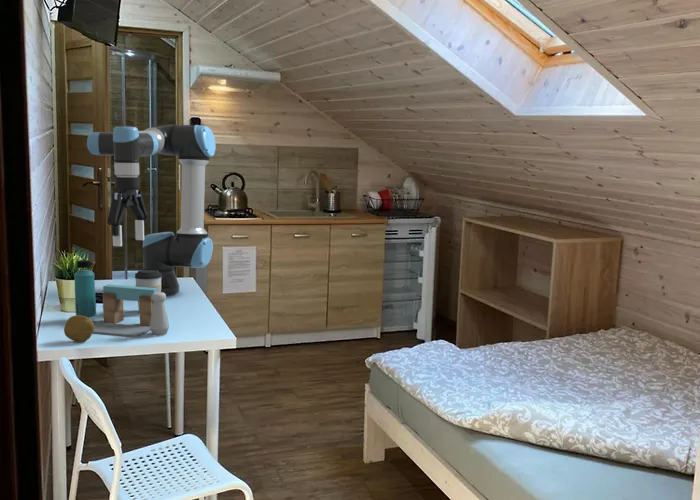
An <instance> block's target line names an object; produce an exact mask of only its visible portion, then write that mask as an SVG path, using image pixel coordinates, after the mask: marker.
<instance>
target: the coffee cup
mask: <svg viewBox="0 0 700 500" xmlns="http://www.w3.org/2000/svg"><path fill="white" fill-rule="evenodd" d="M161 277H162V274H161V273H160V272H159V271H158V270H157V269H155V268H148V269H144V268H142V269H139V270H137V272H136V273H135V274H134V278H135V286H136V287H149V288H158V289H159V292H161ZM137 308H138V309H137V310H138V313H139V314H140V305H139V301H137Z"/></svg>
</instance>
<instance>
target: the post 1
mask: <svg viewBox="0 0 700 500" xmlns="http://www.w3.org/2000/svg"><path fill="white" fill-rule="evenodd" d="M102 311H103V312H102V315H103V323H113V324H120V322H123V321H124V320H125V319H124V318H125V317H124V314H125V313H124V300H119V299H115V293H102Z"/></svg>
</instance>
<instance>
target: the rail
mask: <svg viewBox="0 0 700 500" xmlns="http://www.w3.org/2000/svg"><path fill="white" fill-rule="evenodd" d="M102 292H103V293H115V299H119V300H123V301H133V302H138V301H139V296H152V294H153V293H156V292H159V289H158V288H149V287H136V285H135V286H134V285H119V284H106V285H103V286H102ZM103 293H102V294H103ZM152 302H154V301H152Z"/></svg>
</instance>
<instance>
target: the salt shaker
mask: <svg viewBox="0 0 700 500" xmlns="http://www.w3.org/2000/svg"><path fill="white" fill-rule="evenodd" d="M166 300H167V295H166V294H165V293H163V292H156V293H153V294H152V301H154V304H153V310H152V316H151V321H150V330H151V331H150V332H151V334H152V335H153V336H158V337H159V336H160V335H161V336H165V335H167V333H168V330H169V328H170V325H169V320H168V314H167V309H166V304H165V301H166Z"/></svg>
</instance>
